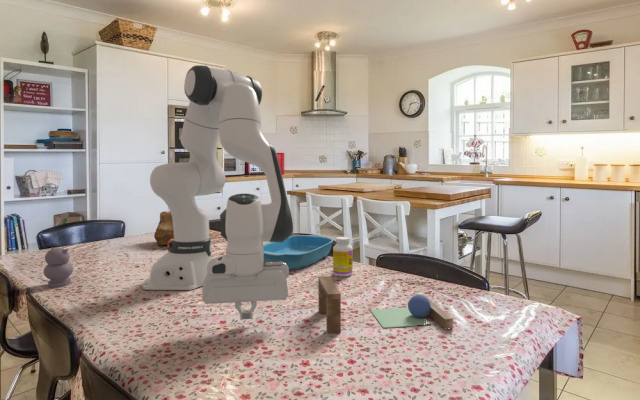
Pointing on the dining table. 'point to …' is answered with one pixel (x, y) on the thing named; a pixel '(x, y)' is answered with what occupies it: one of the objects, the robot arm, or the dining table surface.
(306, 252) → the casserole dish
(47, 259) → the cat figurine
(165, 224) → the rough brown rock
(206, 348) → the dining table surface
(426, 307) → the ball
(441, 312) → the stopper wall
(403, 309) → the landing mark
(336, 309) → the bridge
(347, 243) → the supplement bottle
